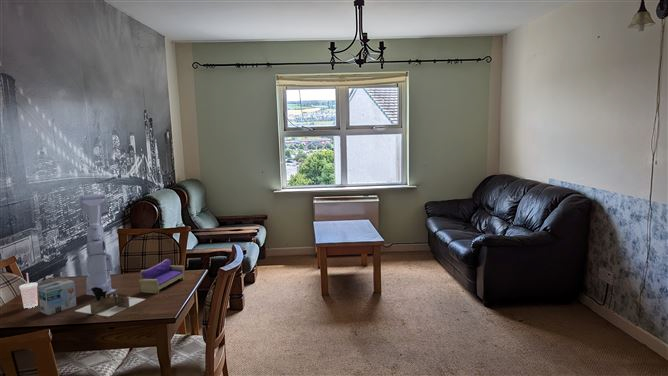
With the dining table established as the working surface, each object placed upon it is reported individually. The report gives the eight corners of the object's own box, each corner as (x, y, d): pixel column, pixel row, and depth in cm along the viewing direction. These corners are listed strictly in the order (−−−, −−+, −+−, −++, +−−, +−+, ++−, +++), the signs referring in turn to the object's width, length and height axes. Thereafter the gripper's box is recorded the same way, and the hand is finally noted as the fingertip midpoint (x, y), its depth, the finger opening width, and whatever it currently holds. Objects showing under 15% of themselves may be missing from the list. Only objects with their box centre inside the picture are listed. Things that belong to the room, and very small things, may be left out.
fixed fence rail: (117, 306, 166) (115, 293, 166) (119, 305, 167) (118, 292, 167) (127, 308, 164) (125, 294, 164) (129, 306, 166) (128, 293, 165)
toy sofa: (157, 295, 179) (155, 272, 178) (140, 294, 181) (138, 271, 180) (185, 279, 199) (184, 258, 198) (169, 278, 202) (168, 257, 200)
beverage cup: (18, 310, 167) (14, 276, 165) (26, 304, 173) (22, 271, 171) (35, 308, 168) (31, 274, 166) (42, 302, 174) (39, 270, 172)
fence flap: (116, 304, 168) (115, 291, 167) (118, 304, 167) (116, 291, 167) (91, 313, 159) (89, 299, 159) (92, 313, 159) (91, 300, 158)
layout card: (74, 312, 163) (74, 310, 163) (113, 295, 180) (113, 294, 180) (108, 317, 157) (108, 316, 157) (145, 300, 173) (145, 298, 173)
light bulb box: (48, 316, 160) (45, 289, 158) (40, 312, 163) (37, 286, 162) (77, 306, 169) (75, 280, 167) (69, 303, 172) (66, 278, 171)
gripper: (116, 272, 160) (119, 306, 161) (103, 264, 170) (105, 297, 171) (96, 277, 155) (99, 312, 156) (83, 269, 164) (86, 302, 166)
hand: (101, 304), depth 163 cm, fingers closed, pressing on fence flap
